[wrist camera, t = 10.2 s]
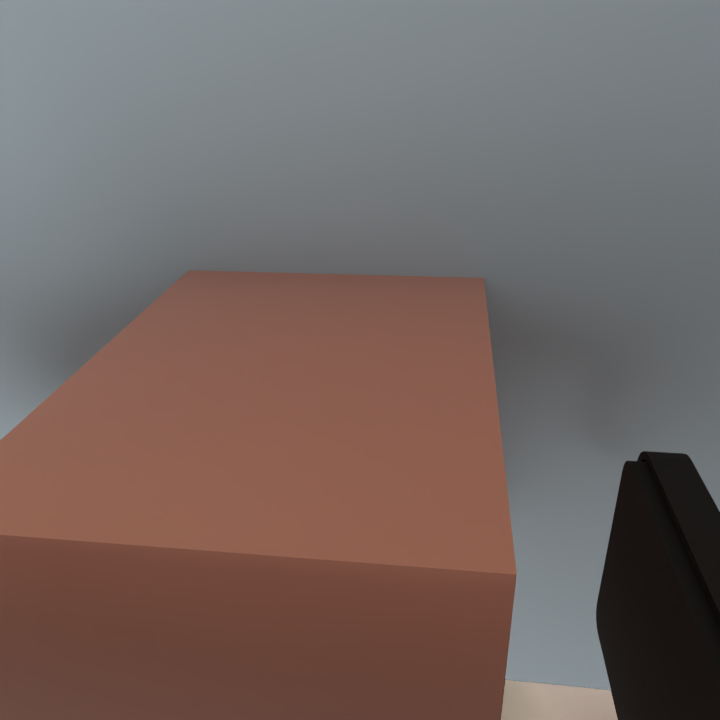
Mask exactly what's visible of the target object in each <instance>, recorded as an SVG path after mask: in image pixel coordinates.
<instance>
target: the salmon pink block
mask: <svg viewBox="0 0 720 720" xmlns="http://www.w3.org/2000/svg"><path fill="white" fill-rule="evenodd" d="M516 577H517V572H516V563H515V554H514V545H513V536H512V527H511V518H510V509H509V500H508V491H507V482H506V473H505V464H504V455H503V446H502V437H501V428H500V419H499V410H498V401H497V392H496V383H495V374H494V365H493V356H492V347H491V338H490V329H489V320H488V311H487V302H486V293H485V284H484V278H471V277H431V276H392V275H352V274H313V273H274V272H234V271H195V270H188V271H187V272H186V273H185V274H184V275H183V276H182V277H181V278H179V279H178V280H177V281H176V282H175V283H174V284H173V285H172V286H171V287H169V288H168V289H167V290H166V291H165V292H164V293H163V294H162V295H161V296H160V297H158V298H157V299H156V300H155V301H154V302H153V303H152V304H151V305H150V306H148V307H147V308H146V309H145V310H144V311H143V312H142V313H141V314H140V315H138V316H137V317H136V318H135V319H134V320H133V321H132V322H131V323H130V324H129V325H127V326H126V327H125V328H124V329H123V330H122V331H121V332H120V333H119V334H117V335H116V336H115V337H114V338H113V339H112V340H111V341H110V342H109V343H108V344H106V345H105V346H104V347H103V348H102V349H101V350H100V351H99V352H98V353H96V354H95V355H94V356H93V357H92V358H91V359H90V360H89V361H88V362H86V363H85V364H84V365H83V366H82V367H81V368H80V369H79V370H78V371H77V372H75V373H74V374H73V375H72V376H71V377H70V378H69V379H68V380H67V381H65V382H64V383H63V384H62V385H61V386H60V387H59V388H58V389H57V390H55V391H54V392H53V393H52V394H51V395H50V396H49V397H48V398H47V399H46V400H44V401H43V402H42V403H41V404H40V405H39V406H38V407H37V408H36V409H34V410H33V411H32V412H31V413H30V414H29V415H28V416H27V417H26V418H25V419H23V420H22V421H21V422H20V423H19V424H18V425H17V426H16V427H15V428H13V429H12V430H11V431H10V432H9V433H8V434H7V435H6V436H5V437H3V438H2V439H1V440H0V720H501V712H502V703H503V694H504V685H505V676H506V667H507V658H508V649H509V640H510V631H511V622H512V613H513V604H514V595H515V586H516Z"/></svg>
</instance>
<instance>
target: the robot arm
mask: <svg viewBox="0 0 720 720" xmlns="http://www.w3.org/2000/svg"><path fill="white" fill-rule="evenodd" d="M596 624H597V631H598V636H599V641H600V645H601V649H602V653H603V658H604V662H605V666H606V670H607V675H608V679H609V683H610V687H611V692H612V696H613V700H614V705H615V709H616V713H617V717H618V720H720V511H719V510H718V508H717V506H716V504H715V502H714V500H713V499H712V497H711V495H710V493H709V491H708V489H707V488H706V486H705V484H704V482H703V480H702V478H701V477H700V475H699V473H698V471H697V469H696V467H695V466H694V464H693V462H692V460H691V458H690V457H689V456H688V455H687V454H684V453H668V452H651V451H643V452H641V453H640V455H639V457H638V460H637V461H626V462H625V464H624V466H623V470H622V475H621V480H620V485H619V490H618V496H617V501H616V506H615V511H614V516H613V522H612V527H611V532H610V537H609V543H608V548H607V553H606V558H605V563H604V569H603V574H602V579H601V584H600V590H599V595H598V600H597V606H596Z"/></svg>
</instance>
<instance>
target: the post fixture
mask: <svg viewBox="0 0 720 720" xmlns="http://www.w3.org/2000/svg"><path fill="white" fill-rule="evenodd" d="M188 270H195V271H234V272H274V273H313V274H352V275H392V276H431V277H471V278H484V284H485V293H486V302H487V311H488V320H489V329H490V338H491V347H492V356H493V365H494V374H495V383H496V392H497V401H498V410H499V419H500V428H501V437H502V446H503V455H504V464H505V473H506V482H507V491H508V500H509V509H510V518H511V527H512V536H513V545H514V554H515V563H516V572H517V577H516V586H515V595H514V604H513V613H512V622H511V631H510V640H509V649H508V658H507V667H506V676H505V680H514V681H524V682H534V683H544V684H554V685H564V686H574V687H584V688H594V689H604V690H611V687H610V683H609V679H608V675H607V670H606V666H605V662H604V658H603V653H602V649H601V645H600V641H599V636H598V631H597V624H596V606H597V600H598V595H599V590H600V584H601V579H602V574H603V569H604V563H605V558H606V553H607V548H608V543H609V537H610V532H611V527H612V522H613V516H614V511H615V506H616V501H617V496H618V490H619V485H620V480H621V475H622V470H623V466H624V464H625V462H626V461H637V460H638V457H639V455H640V453H641V452H643V451H651V452H668V453H684V454H687V455H688V456H689V457H690V458H691V460H692V462H693V464H694V466H695V467H696V469H697V471H698V473H699V475H700V477H701V478H702V480H703V482H704V484H705V486H706V488H707V489H708V491H709V493H710V495H711V497H712V499H713V500H714V502H715V504H716V506H717V508H718V510H719V511H720V0H0V440H1V439H2V438H3V437H5V436H6V435H7V434H8V433H9V432H10V431H11V430H12V429H13V428H15V427H16V426H17V425H18V424H19V423H20V422H21V421H22V420H23V419H25V418H26V417H27V416H28V415H29V414H30V413H31V412H32V411H33V410H34V409H36V408H37V407H38V406H39V405H40V404H41V403H42V402H43V401H44V400H46V399H47V398H48V397H49V396H50V395H51V394H52V393H53V392H54V391H55V390H57V389H58V388H59V387H60V386H61V385H62V384H63V383H64V382H65V381H67V380H68V379H69V378H70V377H71V376H72V375H73V374H74V373H75V372H77V371H78V370H79V369H80V368H81V367H82V366H83V365H84V364H85V363H86V362H88V361H89V360H90V359H91V358H92V357H93V356H94V355H95V354H96V353H98V352H99V351H100V350H101V349H102V348H103V347H104V346H105V345H106V344H108V343H109V342H110V341H111V340H112V339H113V338H114V337H115V336H116V335H117V334H119V333H120V332H121V331H122V330H123V329H124V328H125V327H126V326H127V325H129V324H130V323H131V322H132V321H133V320H134V319H135V318H136V317H137V316H138V315H140V314H141V313H142V312H143V311H144V310H145V309H146V308H147V307H148V306H150V305H151V304H152V303H153V302H154V301H155V300H156V299H157V298H158V297H160V296H161V295H162V294H163V293H164V292H165V291H166V290H167V289H168V288H169V287H171V286H172V285H173V284H174V283H175V282H176V281H177V280H178V279H179V278H181V277H182V276H183V275H184V274H185V273H186V272H187V271H188Z"/></svg>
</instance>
